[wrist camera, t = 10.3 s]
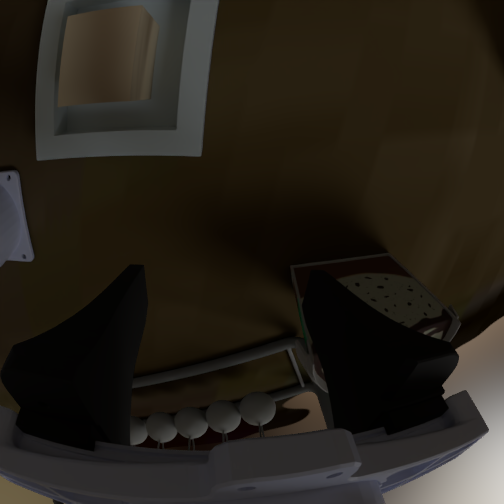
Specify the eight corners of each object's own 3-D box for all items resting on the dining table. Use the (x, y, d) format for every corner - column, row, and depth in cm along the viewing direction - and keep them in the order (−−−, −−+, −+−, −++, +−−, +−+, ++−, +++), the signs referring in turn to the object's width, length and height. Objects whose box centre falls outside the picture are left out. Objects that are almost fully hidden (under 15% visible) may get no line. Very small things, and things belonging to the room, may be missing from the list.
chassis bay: (53, 152, 17) (36, 160, 14) (66, -3, 11) (50, -11, 9) (202, 149, 18) (200, 156, 16) (222, -18, 13) (223, -32, 10)
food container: (272, 322, 27) (296, 416, 18) (271, 267, 24) (303, 366, 15) (389, 302, 28) (437, 374, 19) (402, 250, 25) (466, 321, 16)
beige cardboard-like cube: (93, 101, 15) (57, 107, 11) (100, 31, 13) (67, 16, 8) (150, 99, 16) (129, 101, 11) (159, 26, 13) (142, 5, 9)
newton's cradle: (119, 424, 35) (111, 530, 20) (72, 386, 30) (48, 509, 14) (321, 380, 33) (364, 508, 18) (307, 328, 28) (367, 500, 13)
